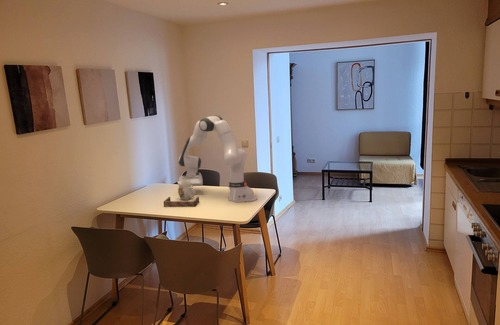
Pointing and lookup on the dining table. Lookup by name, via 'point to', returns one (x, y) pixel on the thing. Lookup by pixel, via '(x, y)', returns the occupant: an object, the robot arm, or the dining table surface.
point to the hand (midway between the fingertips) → (189, 189)
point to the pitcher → (185, 190)
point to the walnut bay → (180, 203)
